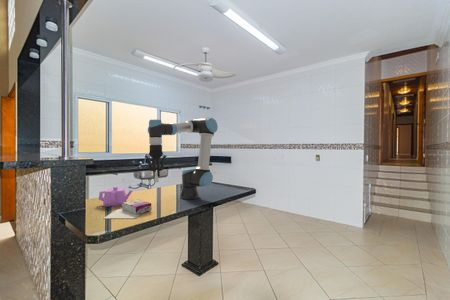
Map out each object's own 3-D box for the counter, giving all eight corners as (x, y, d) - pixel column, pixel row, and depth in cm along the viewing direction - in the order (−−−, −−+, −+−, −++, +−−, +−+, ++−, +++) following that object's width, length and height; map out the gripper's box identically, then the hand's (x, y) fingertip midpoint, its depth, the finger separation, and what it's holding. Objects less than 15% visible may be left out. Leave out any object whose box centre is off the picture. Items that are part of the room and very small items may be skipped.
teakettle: (96, 205, 158) (96, 187, 158) (118, 200, 173) (118, 184, 173) (112, 208, 150) (112, 190, 150) (133, 202, 165) (133, 186, 165)
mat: (145, 209, 148) (145, 209, 148) (134, 218, 130) (134, 218, 130) (117, 209, 147) (117, 209, 147) (103, 218, 129) (103, 218, 129)
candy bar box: (151, 210, 144) (137, 206, 154) (151, 203, 144) (137, 199, 154) (135, 215, 135) (122, 209, 145) (135, 207, 135) (121, 202, 145)
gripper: (167, 144, 144) (168, 180, 145) (147, 144, 143) (148, 181, 145) (164, 144, 136) (165, 182, 137) (143, 144, 136) (144, 183, 137)
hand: (156, 181), depth 141 cm, fingers closed
